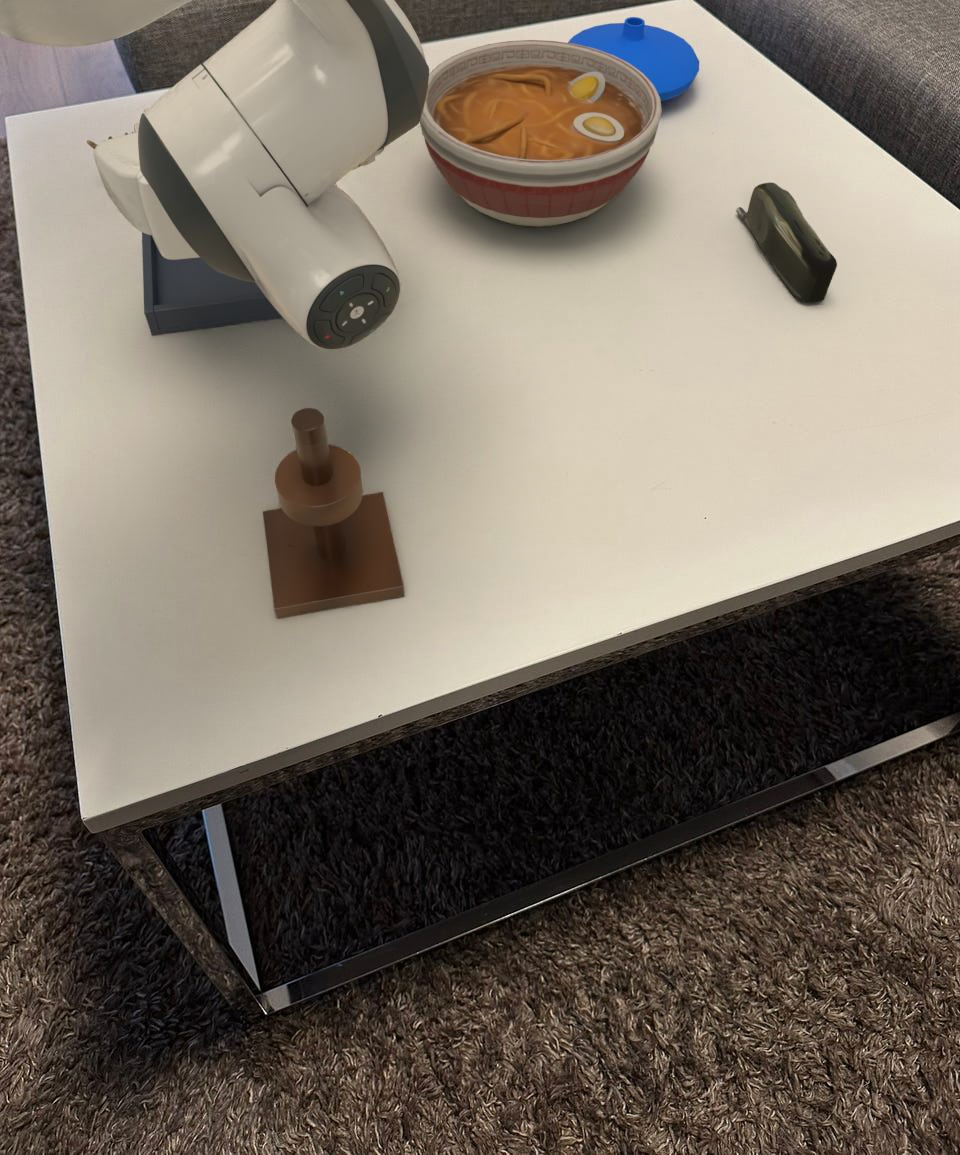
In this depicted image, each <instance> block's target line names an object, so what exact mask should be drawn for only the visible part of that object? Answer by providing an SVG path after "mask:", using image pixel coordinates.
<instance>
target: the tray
mask: <svg viewBox="0 0 960 1155" xmlns="http://www.w3.org/2000/svg"><path fill="white" fill-rule="evenodd" d="M141 251H142V252H141V253H142V283H143V285H142V286H143V313H144V317H145V319H146V322H147V325H148V328H149V331H150V332H149V333H150V335H151V336H156V335H157V336H158V335H164V334H172V333H180V332H181V333H182V332H188V331H195V330H203V329H211V328H218V327H219V328H220V327H225V326H232V325H233V326H235V325H240V324H248V323H255V322H264V321H272V320H278V319H279V320H280V319H284V318H283V317H282V316H281V315H280V314H279V312H278V311H277V310H276V309H275V308H274V307H273V305H272V304H271V303H270V302H269V300H268V299H267V298H266V296H265V295H264V294H263V292H262V291H261V290H260V288H259V287H258V285H257V284H256V282H248V281H243V280H239V279H236V278H233V277H230V276H228V275H225V274H222V273H219V272H217V271H216V270H214V269H213V268H212V267H210V266H209V265H208V264H207V263H206V262H205V261H204V260H203V259H201V258H188V259H178V260H170V259H166V258H164V257H163V256H162V255H161V253H160V252H159V250H158V248H157V245H156V243H155V241H154V239H153V237H152V235H148V234H145V233H143V232H141Z"/></svg>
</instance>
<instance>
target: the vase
mask: <svg viewBox="0 0 960 1155" xmlns="http://www.w3.org/2000/svg"><path fill="white" fill-rule="evenodd" d="M567 43H572V44H577V45H582V46H586V47H590V48H594V49H597V50H600V51H603V52H606V53H608V54H611V55H614V56H616V57H618V58H620V59H622V60H624V61H626V62H628V63H630V64H631V65H632V66H634V67H635V68H636V69H638V70H639V71H641V72H642V73H643V74H644V75H645V76H646V77H647V78H648V79H649V80H650V81H651V83H652V84H653V85H654V87H655V89H656V91H657V93H658V95H659V97H660V100H661V102H664V101H668V100H671V99H673V98H676V97H678V96H680V95H681V94H683V93H684V92H685V91H687V90H688V89H690V87H691V86H692V84H693V82H694V81H695V79H696V77H697V75H698V74H699V71H700V59H699V58H698V56H697V54H696V52H695V50H694V48H693V47H692V45H691V44H690V43H689V42H687V41H686V40H685V38H683V37H681V36H680V35H678V34H676V33H674V32H672V31H670V30H667V29H663V28H661V27H657V26H653V25H648V24H646V21H645V20H644V19H643V18H641V17H637V16H629V17H627V18H625V19H624V22H614V23H613V22H611V23H604V24H599V25H595V26H594V25H593V26H592V27H589V28H586V29H583V30H580V32H578V33H576V34H575V35H573V36H572V37H571V38H570V39H569V40H568V42H567Z"/></svg>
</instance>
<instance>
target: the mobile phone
mask: <svg viewBox="0 0 960 1155" xmlns="http://www.w3.org/2000/svg"><path fill="white" fill-rule="evenodd" d="M736 214H737V215H738V216H739V217H740V219H741V220H742V221H743V222H744V223H745V225H746V226H747V228H748V229H749V230H750V231H751V233H752V235H753V236H754V238H755V240H756V241H757V243H758V246H759V247H760V248H761V250H762V251H763V252H764V254H765V255H766V257H767V259H769V261H770V263H771V264H772V267H773V268H774V270H775V271H776V273H777V274H778V276H779V277H780V279H781V280H782V281H783V283H784V285H785V286H786V288H787V289H788V291H789V292H790V294H791V295H792V296H793V297H794V298H796V299H797V300H799V301H800V302H803V303H807V304H808V303H810V304H815V303H820V302H823V301H824V300H825V299H826V296H827V293H828V291H829V288H830V285H831V282H832V279H833V278H834V275H835V273H836V270H837V267H838V262H837V259H836V258H835V256H834V255H833V254H832V253H831V252H830V251H829V249H828V248H827V246H826V245H825V244H824V243H823V241H822V240H821V239H820V237H819V236H818V234H817V233H816V231H815V230H814V229H813V227H812V226H811V225H810V223H809V222H808V221H807V220H806V218H805V217H804V215H803V213H802V211H801V209H800V207H799V206H798V204H797V201H796V199H795V198H794V197H793V196H792V194H791V193H790V192H789V191H788V190H786V189H783V188H782V187H781V186H779V185H778V184H776V183H775V182H763V183H759V184H758V185H756V186H755V187H754V188H753V190H752V193H751V196H750V199H749V203H748V208H747V212H746V211H745V209H744V208H742V207H741V206H739V207H737V208H736Z"/></svg>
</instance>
